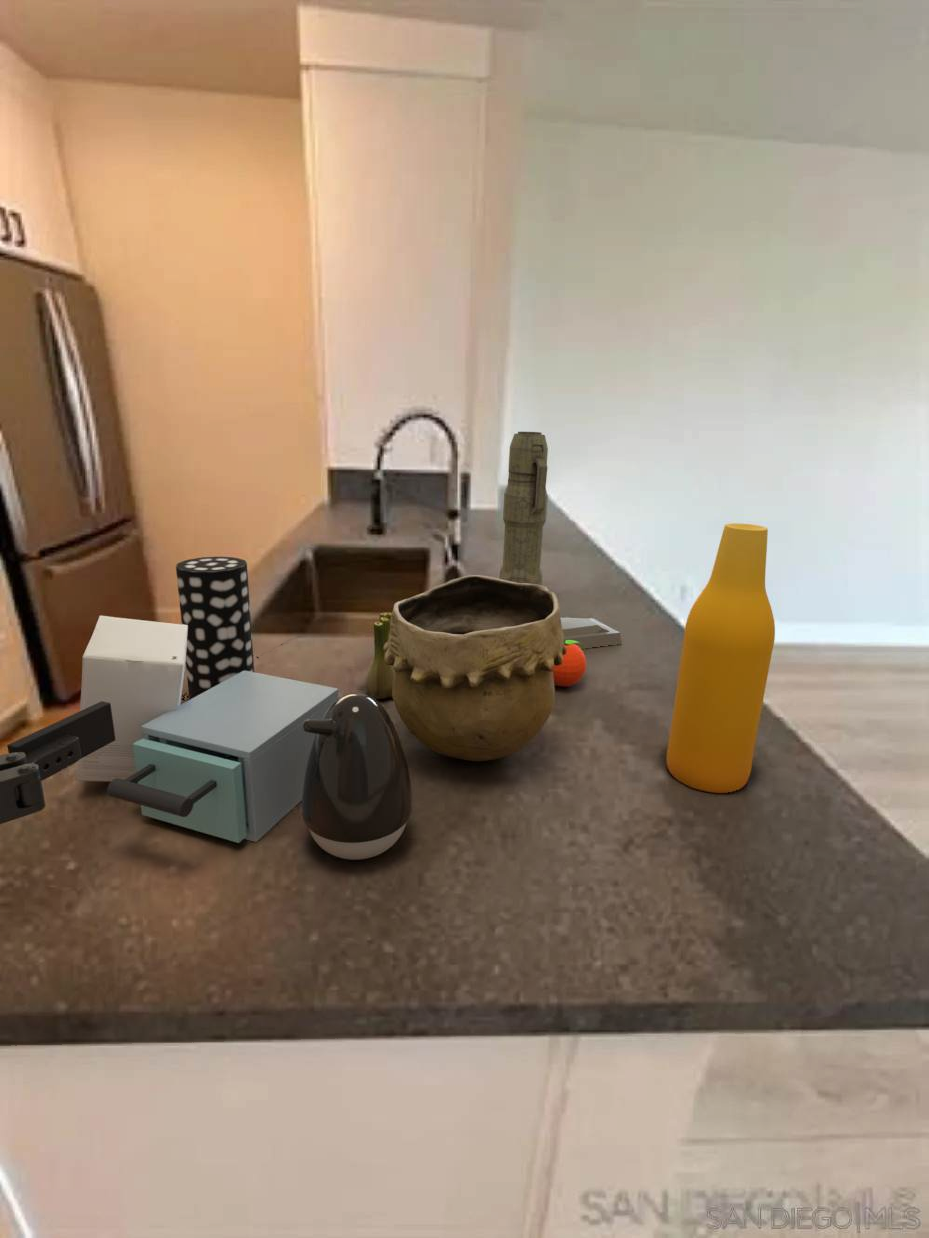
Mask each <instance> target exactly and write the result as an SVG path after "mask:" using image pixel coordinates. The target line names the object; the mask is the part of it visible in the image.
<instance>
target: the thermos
mask: <svg viewBox="0 0 929 1238" xmlns="http://www.w3.org/2000/svg"><path fill="white" fill-rule="evenodd" d="M512 436H513V437H512V439H511V442H510V444H509V453H508V454H509V456H508V479H507V485H506V488H505V490H504V493H503V512H502V521H503V523H504V533H503V534H504V536H503V537H504V538H503V556H502V565H501V567H500V570H499V579H502V580H506V581H511V582H516V583H529V584H537V585H541V586H543V572H542V568H541V564H542V563H541V562H542V549H543V533H544V526H545V523H546V522H547V511H548V510H547V509H548V492H547V488H546V487H547V479H548V478H547V476H548V475H547V474H548V455H549V453H548V452H549V447H548V442H547V438H546V435H545V434H542V432H539V431H517V433H514V434H513V435H512Z"/></svg>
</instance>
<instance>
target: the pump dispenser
mask: <svg viewBox="0 0 929 1238" xmlns="http://www.w3.org/2000/svg"><path fill="white" fill-rule="evenodd" d="M303 729H304V731H305V732H309V733H315V734H316V735H315V738H314V741H313V744H312V748H311V751H310V754H309V758H308V762H307V767H306V772H305V778H304V786H303V795H302V801H301V814H302V819H303V822H304V824H305V826H306V827H307V828H308V831H309V833H310V835H311V837H312V839H313V840H314V842H315V843H316V844H317V845H318V846H319V847H320V848H321V849H322V850H324V851H325V852H326V853H328V854H329V855H331V856H334V857H336V858H340V859H344V860H351V861H353V860H356V861H357V860H366V859H370V858H374V857H376V856H379V855H381V854H383V853H385V852H386V851H388V850H389V849H390V848H392V847H393V846H394V845H395V843H397V841H398V840H399V838H400V837H401V836H402V834H403V832H404V830H405V829H406V826H407V824H408V823H407V822H408V821H409V819H410V818H411V816H412V812H413V790H412V784H411V783H412V782H411V776H410V770H409V765H408V762H407V758H406V753H405V750H404V747H403V744H402V742H401V739H400V736H399V733H398V731H397V729H396V726H395V724H394V723H393V720H392V718H391V717H390V714H389V713H388V711H387V710H386V709H385V707H384V706H383V705H382V704H381V703H380V702H379V700H378V699H376V698H373V697H372V696H370V694H369V695H368V694H365V693H362V692H361V693H360V692H354V693H348V694H345V695H343V696H341V697H339V699H337V700H336V701H335V702H334V703H333V704H332V705H331V706H330V708H329V709H328V711H327V712H326V714H325V715H324V717H323V719H322V720H306V721H304V723H303Z"/></svg>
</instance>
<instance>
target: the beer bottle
mask: <svg viewBox="0 0 929 1238" xmlns="http://www.w3.org/2000/svg"><path fill="white" fill-rule="evenodd" d="M768 533H769V530H768V527H766V526H763V525H758V524H751V523H739V522H738V523H737V522H736V523H734V522H732V523H725V524H724V527H723V529H722V534H721V538H720V540H719V545H718V548H717V551H716V552H717V553H716V555H715V560H714V564H713V568H712V571H711V574H710V577H709V580H708V581H707V583H706V585H705V587H704V588H703V589H702V591H701V593H700V594H699V595H698V597H697V598H696V600H695V601H694V603H693V605H692V607H691V608H690V610H689V613H688V616H687V619H686V622H685V627H684V631H683V641H682V647H681V655H680V662H679V670H678V677H677V682H676V683H677V684H676V691H675V697H674V703H673V712H672V720H671V727H670V733H669V739H668V745H667V750H666V766H667V769H668V771H669V773H670V775H672V776H673V778H674V779H676V780H677V781H678V782H680V783H681V784H684V785H685V786H687V787H689V788H692V789H695V790H698V791H702V792H707V793H713V794H728V792H729V793H734V792H737V791H738V790H741V789H742V788H743V787H744V786H745V785H746V784H747V782H748V780H749V778H750V775H751V772H752V766H753V760H754V751H755V747H756V741H757V736H758V730H759V725H760V720H761V715H762V714H761V713H762V709H763V703H764V699H765V692H766V688H767V682H768V676H769V670H770V666H771V659H772V654H773V650H774V646H775V640H776V639H775V638H776V625H775V618H774V613H773V609H772V607H771V603H770V600H769V597H768V593H767V589H766V568H767V553H768V552H767V551H768ZM736 790H737V791H736ZM733 791H734V792H733Z"/></svg>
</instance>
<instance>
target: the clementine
mask: <svg viewBox="0 0 929 1238" xmlns="http://www.w3.org/2000/svg"><path fill="white" fill-rule="evenodd" d="M575 643H579V642H577V641H574V640H564V645H565V646H566V648H567V652H566V654H565V655H562V664H561V665H558V666H556V665H554V667H553V678H554V686H557V687H569V686H572V685H575V684H576V683H578V681H580V680H581V679H582V677H583V676H584V674H585V672H586V668H587V659H586V656H585V653H587V649H585V646H584V645H583V644H581V643H580V644H581V645H582V646H583V647H584V649H581V648H580V647H579V646H577V645H576V644H575ZM583 650H584V651H583ZM584 652H585V653H584Z"/></svg>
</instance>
